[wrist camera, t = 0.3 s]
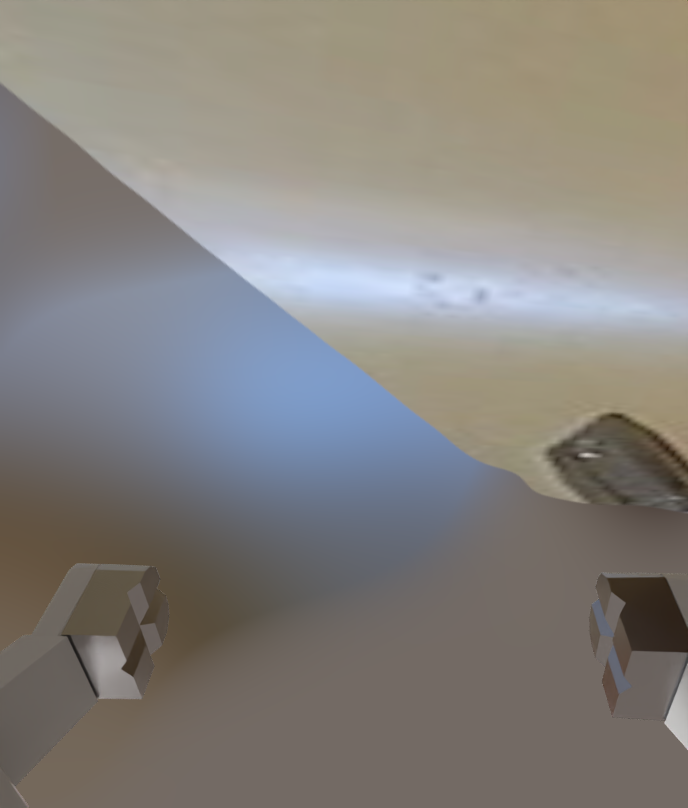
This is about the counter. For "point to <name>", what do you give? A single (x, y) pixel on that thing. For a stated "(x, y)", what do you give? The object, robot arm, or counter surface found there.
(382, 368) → the counter surface
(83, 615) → the robot arm
